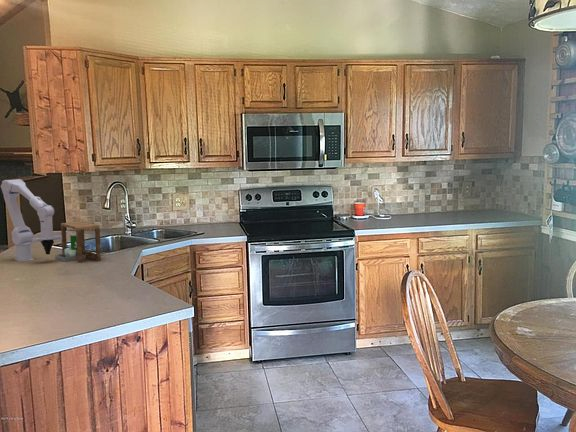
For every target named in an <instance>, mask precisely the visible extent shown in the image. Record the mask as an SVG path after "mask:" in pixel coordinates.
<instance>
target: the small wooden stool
mask: <svg viewBox="0 0 576 432" xmlns="http://www.w3.org/2000/svg"><path fill="white" fill-rule="evenodd" d="M100 226H101V225H99V224H94V223H91V222H87V221H73V222H62V223H60V230H61V232H60V233H61V234H60V235H61V236H62V239H61V250H62V251H61V252H62V253H61V254H65V251H64V249H66V248H67V247H68V246H67V228H68V229H69V228H70V229H72V230H75V232H76V239H77V260H76V261H77V263H83V259H82V254H84V255H86V258H90V259H93V260H95V259H96V260H95V261H99V260H100V261H101V260H102V257H101V256H102V255H101V253H102V252H101V231H100V230H101V228H100ZM91 229H94V236H95V237H94V238H95V252H93V251H90V250H87V249H86V246H85V245H86V243H85V230H91Z"/></svg>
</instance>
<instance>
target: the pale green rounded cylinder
mask: <svg viewBox="0 0 576 432" xmlns="http://www.w3.org/2000/svg"><path fill="white" fill-rule="evenodd" d="M69 250H72V249H71V247H68V248H66V249H64V251H65V258H67V257H69Z"/></svg>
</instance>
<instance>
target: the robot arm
mask: <svg viewBox="0 0 576 432" xmlns="http://www.w3.org/2000/svg"><path fill="white" fill-rule="evenodd" d="M0 189H1V192H2V195H3V199H4V202H5V205H6V208H7V211H8V214H9V217H10V220H11V222H12V225H13V229H12V231H11V232H10V234H11V240H12V241H11V242H12V243H13V244H14V258H13V260H14V261H16V262H19V263H20V262H26V261H32V260H33V261H34V260H35V258H34V257H32V256H33V254H32V244H33V243H37V242H39V243H41V245H42V247H43V249H44V252H45V255H51V250H52V247H53V245H54V244H55V241H56V240H62V236H61V234H60V235H54V229H53V226H54V224H53V216H54V214H55V212H56V211H55V208H54V207H53V205H49V204H47V203H46V202H45V201H43V199H41V198H42V197H41V196H35V195H34V194H33V193H32V191H30V189H29V188H28V187H27V185H26V182H25V181H24V180H23V179H20V178H18V179H4V180H2V182H1V185H0ZM19 195H22V197H24V198H25V199H27V200H28V201H29V205H30V206H31V207H32V208H33V209H34V210H35V211H36V214H37V216H38V219H39V222H40V236H37V237H35V236H34V235H35V234H34V233H33V232H32V230H31V227H28V225H26V223H25V221H24V218H23V214H22V212H21V208H20V206H19V203H18V200H17V197H18V196H19Z"/></svg>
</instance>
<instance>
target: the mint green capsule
mask: <svg viewBox="0 0 576 432" xmlns="http://www.w3.org/2000/svg"><path fill="white" fill-rule="evenodd" d="M74 256H76V250H69V257H74Z"/></svg>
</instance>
